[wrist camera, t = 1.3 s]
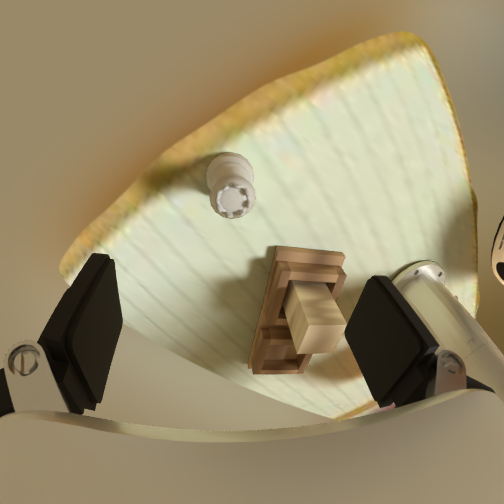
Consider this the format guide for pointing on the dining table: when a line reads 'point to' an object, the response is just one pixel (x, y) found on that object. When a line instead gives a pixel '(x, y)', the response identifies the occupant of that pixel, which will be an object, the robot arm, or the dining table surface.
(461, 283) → the dining table surface
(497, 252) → the milk container
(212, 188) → the rook chess piece
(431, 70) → the dining table surface
